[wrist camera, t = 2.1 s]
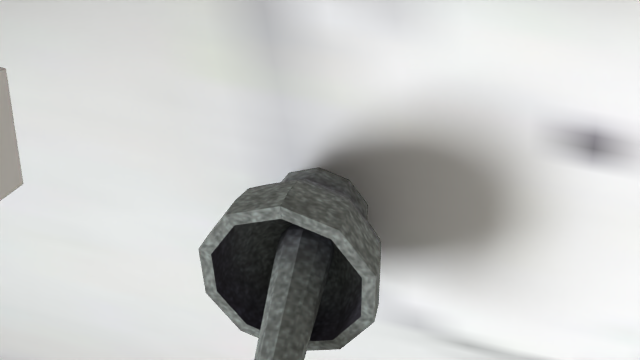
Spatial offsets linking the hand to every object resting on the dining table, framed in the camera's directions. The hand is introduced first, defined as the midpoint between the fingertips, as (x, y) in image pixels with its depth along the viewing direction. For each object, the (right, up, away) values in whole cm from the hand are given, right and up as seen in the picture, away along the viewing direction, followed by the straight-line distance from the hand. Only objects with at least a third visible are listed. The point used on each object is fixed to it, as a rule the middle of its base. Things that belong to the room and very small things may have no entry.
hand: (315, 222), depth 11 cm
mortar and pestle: (0, -2, +25) cm, 25 cm away
